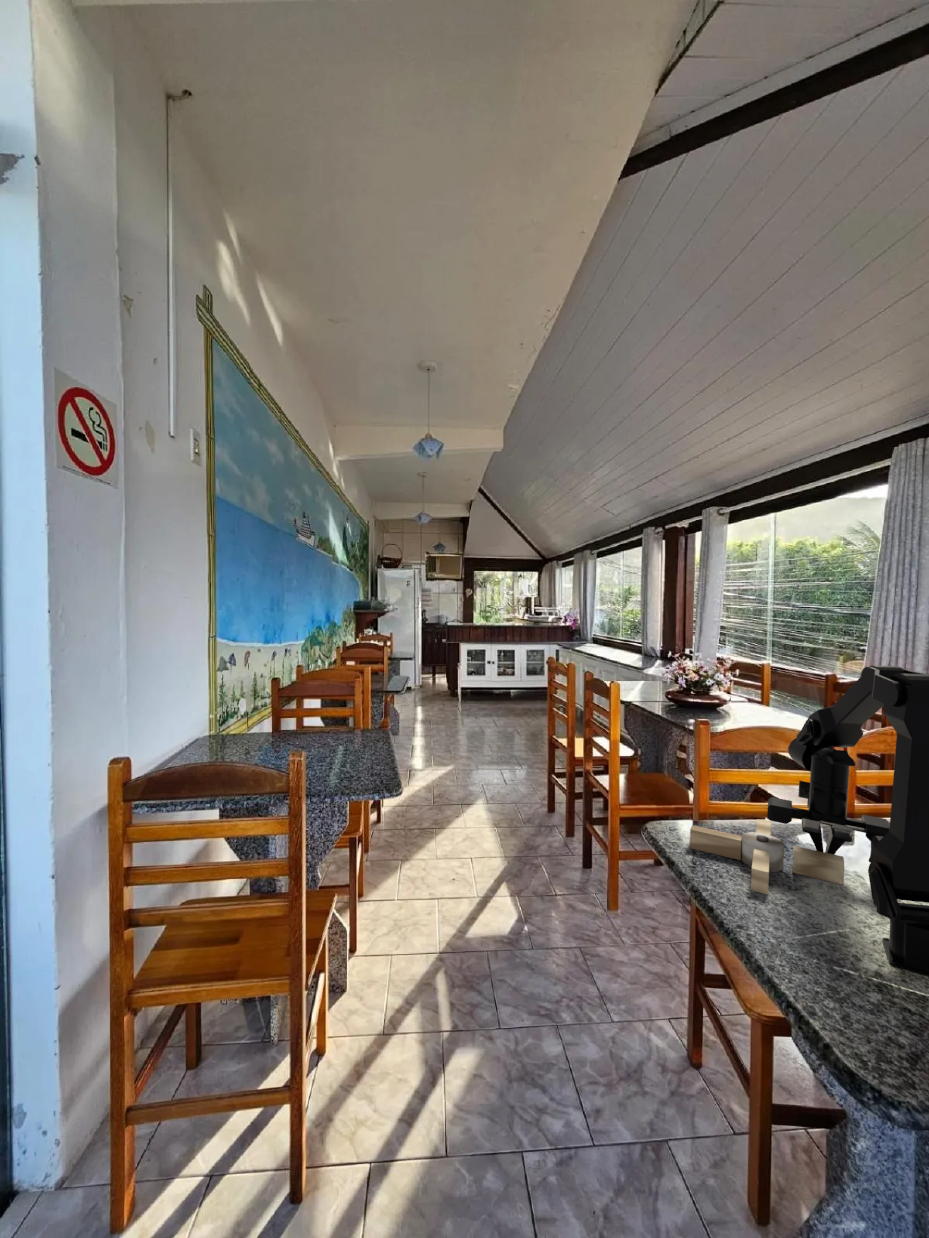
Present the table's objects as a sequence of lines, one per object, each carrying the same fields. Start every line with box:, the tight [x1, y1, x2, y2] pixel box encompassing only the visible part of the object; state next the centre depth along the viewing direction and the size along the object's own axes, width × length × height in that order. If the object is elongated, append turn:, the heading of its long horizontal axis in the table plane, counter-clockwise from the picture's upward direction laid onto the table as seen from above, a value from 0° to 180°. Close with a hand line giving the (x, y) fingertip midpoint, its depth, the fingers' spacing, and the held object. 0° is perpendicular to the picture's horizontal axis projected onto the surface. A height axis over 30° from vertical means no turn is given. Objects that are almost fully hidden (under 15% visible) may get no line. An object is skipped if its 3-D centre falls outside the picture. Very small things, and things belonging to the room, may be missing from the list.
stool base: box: [689, 818, 785, 895], centre depth 101 cm, size 25×16×5 cm, turn 149°
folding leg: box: [792, 845, 845, 885], centre depth 94 cm, size 8×2×4 cm, turn 57°
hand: (823, 864), depth 96 cm, fingers closed, pressing on folding leg
